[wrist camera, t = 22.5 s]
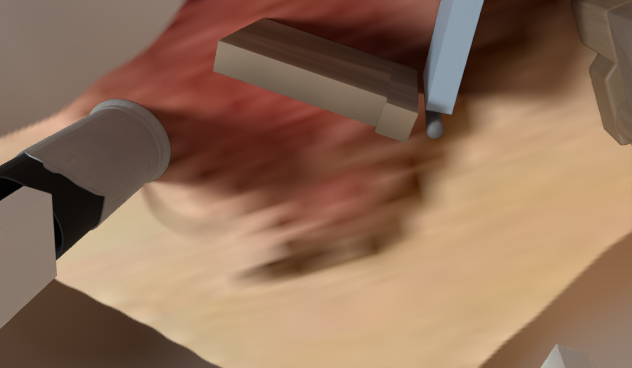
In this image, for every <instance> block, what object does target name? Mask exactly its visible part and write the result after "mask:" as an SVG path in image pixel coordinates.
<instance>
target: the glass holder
mask: <svg viewBox="0 0 632 368" xmlns="http://www.w3.org/2000/svg"><path fill="white" fill-rule="evenodd" d="M170 157H171V147H170V142H169V138H168V136H167V133H166V131H165V129H164V128H163V126H162V124H161V123H160V122H159V120H158V119H157V118H156V117H155V116H154V115H153V114H152V113H151V112H150V111H148V110H147V109H146V108H144V107H143V106H141V105H139V104H137V103H134V102H132V101H129V100H123V99H111V100H107V101H104V102H102V103H100V104H99V105H97V106H96V107H95V108H94V109H93V110H92V111H91V112H90V114H89V115H88V116H87V117H85V118H83V119H81V120H79V121H77V122H75V123H74V124H72V125H70V126H68V127H66V128H64V129H62V130H60V131H59V132H57V133H55V134H53V135H51V136H49V137H47V138H45V139H44V140H42V141H40V142H38V143H36V144H34V145H32V146H31V147H29V148H27V149H25V150H24V151H22V152H21V153H19V154H18V155H17V156H16V157H15V158H14V159H12V160H10V161H8V162H6V163H4V164H3V165H1V166H0V201H1V200H2V199H4V198H6V197H7V196H9V195H10V194H12V193H14V192H15V191H17V190H18V189H20V188H22V187H23V186H26V187H29V188H32V189H36V190H39V191H43V192H46V193H49V194H51V195H52V210H53V225H54V240H55V255H56V260H57V259H58V258H60V257H61V256H62V255H63V254H64V253H65V252H66V251H67V250H69V249H70V248H71V247H72V246H73V245H74V244H75V243H76V242H77V241H79V240H80V239H81V238H82V237H83V236H84V235H85V234H86V233H88V232H89V231H90V230H93V229H95V228H97V227H98V226H99V225H100V224H101V223H102V222H103V221H104V220H105V219H107V218H108V217H109V216H110V215H111V214H112V213H113V212H114V211H115V210H117V209H118V208H119V207H120V206H121V205H122V204H123V203H124V202H125V201H126V200H128V199H129V198H130V197H131V196H132V195H133V194H134V193H135V192H136V191H138V190H139V189H140V188H141V187H142V186H143V185H144V184H145V183H149V182H151V181H154V180H156V179H157V178H159V177H160V176H161V175H162V174H163V173H164V172H165V170H166V169H167V167H168V165H169V162H170Z"/></svg>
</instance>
